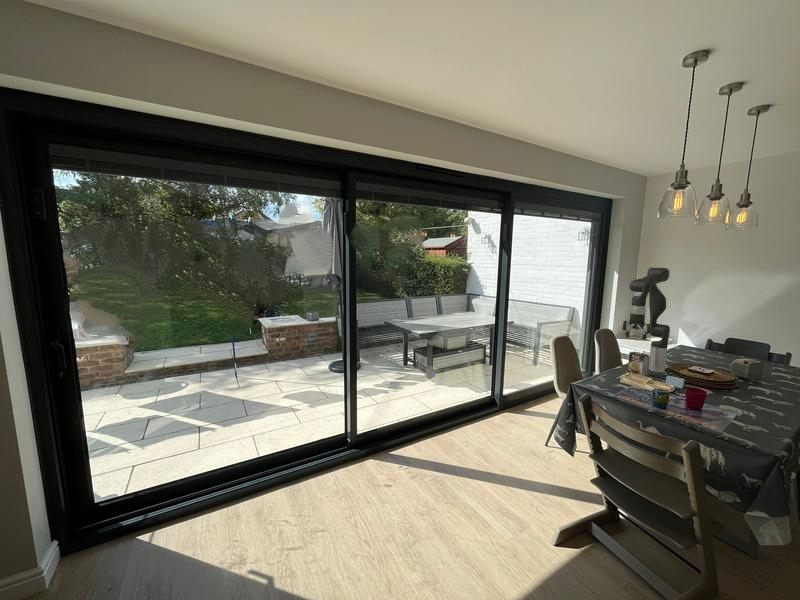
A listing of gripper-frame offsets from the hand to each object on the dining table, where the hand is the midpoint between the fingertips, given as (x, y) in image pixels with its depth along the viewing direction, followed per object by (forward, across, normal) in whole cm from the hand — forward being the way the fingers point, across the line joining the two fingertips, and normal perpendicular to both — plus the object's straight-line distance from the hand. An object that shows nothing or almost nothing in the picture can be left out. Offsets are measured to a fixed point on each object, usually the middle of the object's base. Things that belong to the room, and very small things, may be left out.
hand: (635, 338), depth 205 cm
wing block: (+29, -17, -18) cm, 39 cm away
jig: (+29, -7, -4) cm, 30 cm away
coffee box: (+29, +3, -18) cm, 34 cm away
